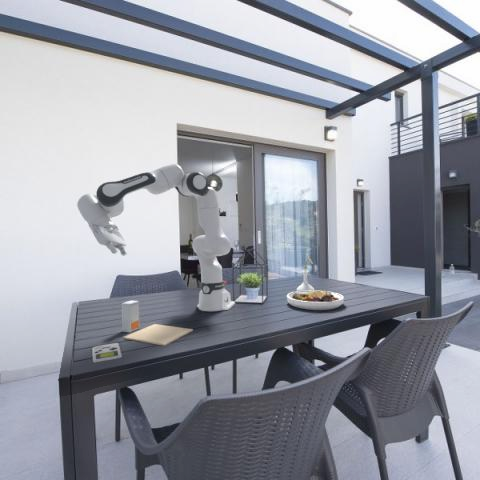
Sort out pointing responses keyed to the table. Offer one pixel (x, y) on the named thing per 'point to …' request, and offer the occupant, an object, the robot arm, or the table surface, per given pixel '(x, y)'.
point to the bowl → (315, 300)
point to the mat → (158, 334)
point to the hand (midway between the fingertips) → (120, 253)
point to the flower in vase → (305, 279)
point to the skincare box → (130, 316)
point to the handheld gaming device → (106, 352)
